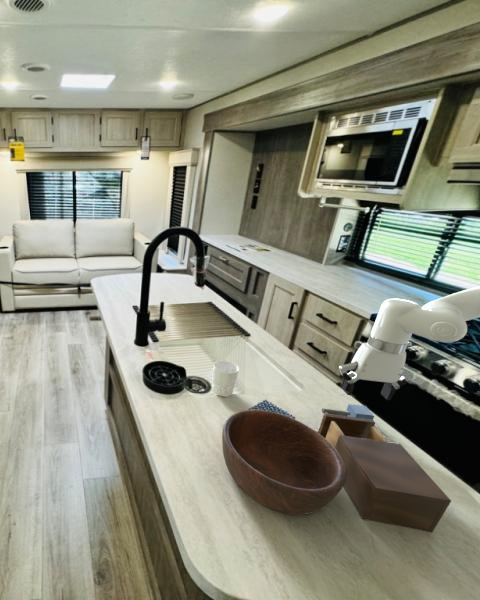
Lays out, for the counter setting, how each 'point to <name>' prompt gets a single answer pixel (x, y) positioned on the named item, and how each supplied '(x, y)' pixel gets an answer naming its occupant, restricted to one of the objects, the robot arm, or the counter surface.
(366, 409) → the block
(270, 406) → the woven mat
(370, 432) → the drawer
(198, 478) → the counter surface
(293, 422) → the wooden bowl
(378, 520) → the cabinet
